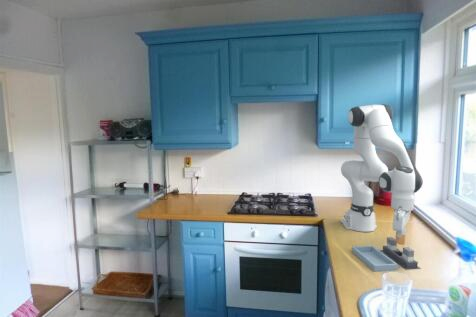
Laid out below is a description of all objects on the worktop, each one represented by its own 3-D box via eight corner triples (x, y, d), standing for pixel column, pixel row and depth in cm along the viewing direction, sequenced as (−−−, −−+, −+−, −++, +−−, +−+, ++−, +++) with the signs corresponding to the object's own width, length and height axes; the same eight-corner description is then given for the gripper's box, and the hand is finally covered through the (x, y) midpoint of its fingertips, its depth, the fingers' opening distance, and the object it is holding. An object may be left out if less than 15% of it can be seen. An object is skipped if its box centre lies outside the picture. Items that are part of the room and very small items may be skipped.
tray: (351, 253, 152) (352, 246, 152) (372, 252, 153) (372, 245, 153) (374, 273, 132) (374, 265, 132) (397, 272, 133) (397, 264, 133)
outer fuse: (401, 263, 140) (402, 247, 139) (407, 262, 140) (408, 247, 139) (407, 267, 136) (408, 251, 135) (413, 266, 136) (414, 250, 135)
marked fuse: (395, 240, 145) (396, 225, 144) (400, 241, 145) (402, 226, 144) (398, 244, 141) (400, 228, 140) (404, 244, 141) (405, 229, 140)
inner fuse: (386, 251, 152) (387, 237, 151) (391, 251, 152) (391, 237, 151) (391, 255, 148) (392, 240, 147) (396, 255, 148) (396, 240, 147)
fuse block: (379, 252, 153) (379, 245, 153) (393, 251, 154) (393, 244, 154) (405, 272, 134) (405, 263, 133) (421, 271, 134) (421, 263, 134)
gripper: (406, 211, 131) (404, 244, 133) (413, 200, 147) (412, 229, 149) (389, 208, 134) (388, 240, 136) (398, 198, 151) (397, 226, 153)
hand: (400, 234), depth 143 cm, fingers closed on marked fuse, 5 cm apart
